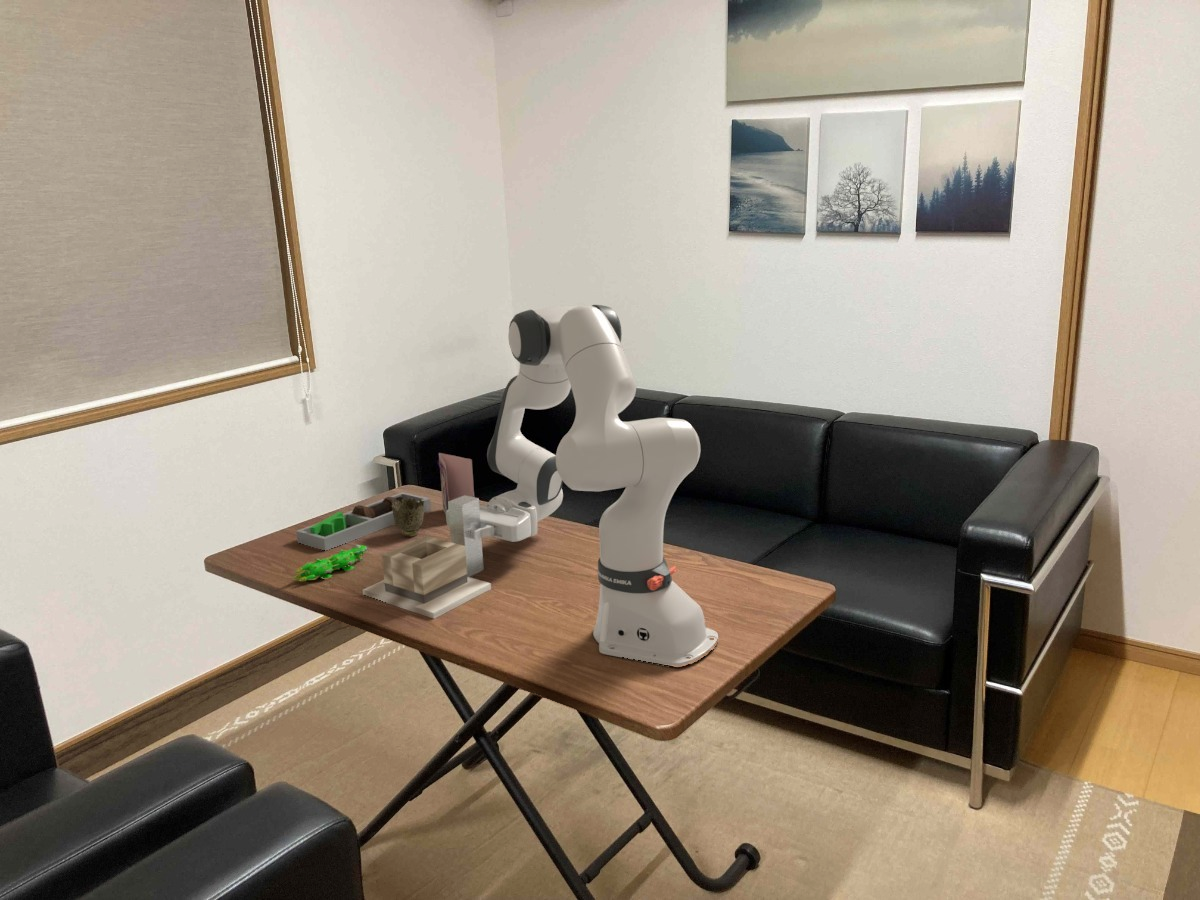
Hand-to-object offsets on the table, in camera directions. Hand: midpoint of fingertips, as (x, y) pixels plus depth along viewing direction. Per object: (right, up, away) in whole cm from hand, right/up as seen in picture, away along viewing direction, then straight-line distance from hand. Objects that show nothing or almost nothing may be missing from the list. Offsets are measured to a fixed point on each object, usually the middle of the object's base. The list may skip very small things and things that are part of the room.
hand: (462, 533), depth 194 cm
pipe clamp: (-34, -4, +26) cm, 43 cm away
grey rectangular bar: (+1, -8, +3) cm, 9 cm away
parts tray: (-28, -1, +33) cm, 43 cm away
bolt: (-25, 0, +38) cm, 46 cm away
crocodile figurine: (-29, -9, +6) cm, 30 cm away
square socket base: (-6, -11, -6) cm, 14 cm away
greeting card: (-7, +1, +38) cm, 39 cm away
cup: (-16, -3, +26) cm, 30 cm away
